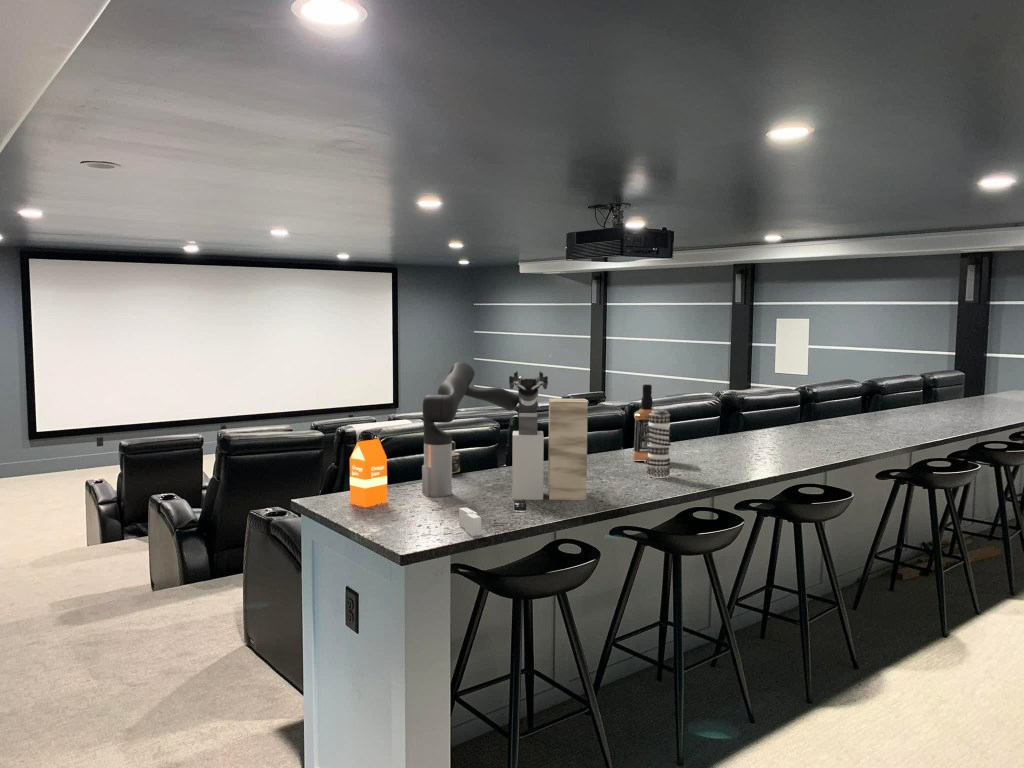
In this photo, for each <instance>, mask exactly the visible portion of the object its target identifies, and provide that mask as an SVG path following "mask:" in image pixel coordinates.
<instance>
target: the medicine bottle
mask: <svg viewBox="0 0 1024 768" xmlns="http://www.w3.org/2000/svg"><path fill="white" fill-rule="evenodd" d="M460 462H461V453H458V452H456V442H455V441H453V440H452V474H456V473H460V471H461V463H460Z"/></svg>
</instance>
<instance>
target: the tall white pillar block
mask: <svg viewBox="0 0 1024 768" xmlns="http://www.w3.org/2000/svg"><path fill="white" fill-rule="evenodd" d="M544 438H545V437H544V431H543V430H537V435H519V430H513V431H512V445H511V446H512V462H511V463H512V465H511V466H512V468H511V469H512V471H511V472H512V474H511V475H512V478H511V479H512V480H511V481H512V484H511V486H512V487H511V488H512V489H511V491H512V492H511V493H512V494H511V496H512V497H511V498H512V500H515V501H516V500H518V501H522V500H523V499H524V500H526V501H527V500H531V501H536V500H537V501H543V500H544V449H545V448H544V444H545V442H544V441H545V439H544Z"/></svg>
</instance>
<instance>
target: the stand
mask: <svg viewBox="0 0 1024 768" xmlns="http://www.w3.org/2000/svg"><path fill="white" fill-rule="evenodd" d="M588 404H589V403H588V401H587V399H586V398H548V463H547V465H548V466H547V467H548V471H547V473H548V474H547V476H548V478H547V480H548V481H547V484H548V485H547V489H548V490H547V492H548V493H547V494H548V500H550V501H587V484H588V483H587V482H588V481H587V477H588V476H587V475H588V471H587V470H588V468H587V467H588V407H589V405H588Z"/></svg>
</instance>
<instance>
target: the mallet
mask: <svg viewBox="0 0 1024 768" xmlns="http://www.w3.org/2000/svg"><path fill="white" fill-rule="evenodd" d="M518 431H519V435H537V431H538V413H537V412H536V413H519V418H518Z"/></svg>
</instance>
